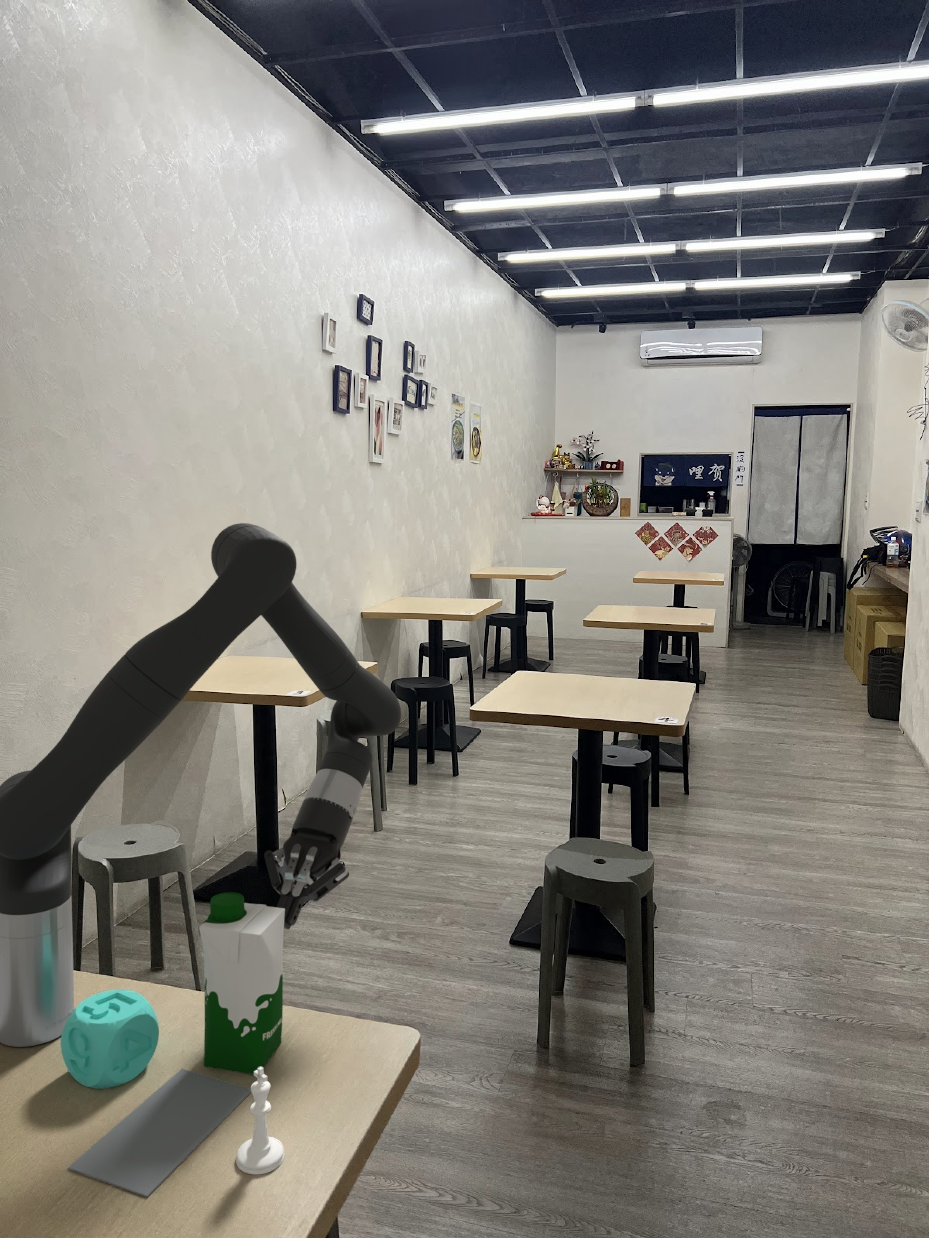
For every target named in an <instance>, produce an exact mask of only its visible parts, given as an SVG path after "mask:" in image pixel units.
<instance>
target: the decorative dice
mask: <svg viewBox="0 0 929 1238" xmlns="http://www.w3.org/2000/svg"><path fill="white" fill-rule="evenodd" d="M159 1036H160V1027H159V1022H158V1017H157V1014H156V1012H155V1010H154V1008H153V1006H152V1005H151V1003H150V1002H149V1001H148V999H146V998H145V997H144V996H143V995H141V994H140V993H139V992H137V991H133V990H131V989H130V990H129V989H112V990H111V989H110V990H105V991H101V992H98V993H96V994H92V995H91V996H88V997H86V998H85V999H83V1000H82V1001H81V1002H80V1003H79V1004H77V1006H76V1007H74V1010H73V1012H72V1013H71V1015H70V1016H69V1018H68V1020H67V1021H66V1024H65V1026H64V1029H63V1032H62V1035H61V1036H60V1050H61V1054H62V1058H63V1061H64V1064H65V1067H66V1068H67V1070H68V1072H69V1074H70V1075H71V1076H72V1077H73V1078H74V1080H75V1081H76V1082H78V1083H79V1084H81V1085H83V1086H84V1087H86V1088H92V1089H109V1088H114V1087H118V1086H122V1085H124V1084H126V1083H128V1082H130V1081H133V1080H134V1079H135V1078H137V1076H139V1075H140V1074H141V1073H142V1072H143V1071H144V1070H145V1069H146V1068H147V1066H148V1065H149V1063H150V1062H151V1060H152V1058H153V1056H154V1055H155V1052H156V1050H157V1047H158V1042H159V1038H160V1037H159Z"/></svg>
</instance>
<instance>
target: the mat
mask: <svg viewBox="0 0 929 1238" xmlns="http://www.w3.org/2000/svg"><path fill="white" fill-rule="evenodd" d="M250 1094H252V1092H251V1087H247V1086H244V1085H239V1084H236V1083H233V1082H229V1081H227V1080H223V1079H219V1078H216V1077H212V1076H209V1075H205V1074H202V1073H200V1072H199V1073H198V1072H195V1071H192V1070H189V1069H185V1068H181V1069H180V1070H179V1071H178V1072H176V1073H175V1074H173V1076H172V1077H171V1078H170V1079H168V1080H167V1081H166V1082H165V1083H164V1084H163V1085H161V1086H160V1087H158V1089H157V1090H156V1091H155V1092H153V1093H152V1094H151V1095H150V1096H149V1097H148V1098H146V1099H145V1100H144V1101H143V1102H142V1103H140V1104H139V1105H138V1106H137V1107H136V1108H134V1110H132V1111H131V1112H130V1113H129V1114H128V1115H126V1117H124V1118H122V1120H121V1121H120V1122H119V1123H117V1124H116V1125H115V1126H114V1127H113V1128H112V1129H111V1130H110V1131H108V1132H107V1133H106V1134H105V1135H104V1136H102V1137H101V1138H100V1139H99V1140H97V1142H96V1143H94V1144H93V1145H91V1146H90V1148H89V1149H87V1150H86V1151H85V1152H84V1153H83V1154H82V1155H80V1156H79V1157H78V1158H77V1159H76V1160H74V1161H73V1162H72V1163H71V1164H70V1165H69V1166H68V1167H67V1170H69V1171H70V1172H71V1171H72V1172H74V1173H77V1174H80V1175H83V1176H85V1177H89V1178H91V1179H94V1180H95V1181H96V1180H97V1181H99V1182H103V1183H105V1184H107V1185H108V1184H109V1185H111V1186H114V1187H116V1188H120V1189H123V1190H125V1191H128V1192H130V1193H132V1194H136V1195H139V1196H141V1197H144V1198H149V1197H150V1196H151V1195H152V1194H153V1193H154V1192H155V1191H156V1190H157V1189H158V1188H159V1186H161V1185H162V1183H164V1182H165V1180H167V1178H169V1176H170V1175H171V1174H172V1173H174V1171H176V1169H178V1168H179V1167H180V1165H182V1163H183V1162H184V1161H185V1160H186V1159H187V1158H188V1157H189V1156H190V1155H191V1154H192V1153H193V1152H194V1151H195V1150H196V1149H197V1148H198V1147H199V1146H200V1145H201V1144H202V1143H203V1142H204V1141H205V1140H206V1139H207V1138H208V1137H209V1136H210V1135H211V1134H212V1133H213V1132H214V1131H215V1130H216V1129H217V1128H218V1127H219V1126H220V1125H221V1123H223V1121H224V1120H225V1119H226V1118H228V1117H229V1116H230V1115H231V1113H232V1112H234V1110H236V1108H237V1107H239V1105H240V1104H242V1102H243V1101H245V1099H246V1098H247V1097H248V1096H249V1095H250Z"/></svg>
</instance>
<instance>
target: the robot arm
mask: <svg viewBox="0 0 929 1238" xmlns="http://www.w3.org/2000/svg"><path fill="white" fill-rule="evenodd" d="M210 556H211V557H210V558H211V565H212V568H213V570H214V572H215V574H216V576H217V578H216V580H215V581H214V582H213V583H212V585H210V586H209V588H208V589H207V590H206V591H205V592H204V593H203V595H202V596H201V597H200V598H199V599H198V600H197V601H196V602H195V603H194V604H193V605H192V606H190V608H188V609H187V610H186V611H185V612H183V613H182V614H180V615H179V616H177V617H175V618H173V619H172V620H170V621H168V622H167V623H165V624H163V625H161V626H159V627H158V628H156V629H155V630H153V631H151V632H149V633H148V634H146V635H145V636H143V637H141V638H140V639H139V640H138V641H137V642H135V643H134V644H132V646H131V647H130V648H129V649H128V650H127V651H126V652H125V654H123V655H122V656H121V658H120V659H119V660H118V661H117V662H116V663H115V664H114V665H113V666H112V667H111V669H109V671H108V672H107V673H106V674H105V675H104V677H103V678H102V679H101V680H100V681H99V683H98V684H97V685H96V686H95V688H94V689H93V690H92V692H91V693H90V695H89V696H88V698H86V700H85V701H84V702H83V703H84V704H82V706H81V707H80V709H79V711H78V713H76V715H75V717H74V719H73V720H72V722H71V723H70V725H69V726H68V728H67V729H66V731H65V733H64V734H63V736H62V737H61V738H60V739H59V740H58V742H57V744H55V746H54V747H53V748H52V749H51V750H50V752H48V754H47V755H46V756H44V757H43V758H42V760H40V761H39V762H38V763H37V764H36V765H35V766H34V767H33V768H32V769H31V770H25V771H21V772H18V773H17V772H16V773H15V774H13V775H11V776H10V777H8V778H7V779H5V780H4V782H2V783H1V784H0V1043H1V1044H2V1045H5V1046H9V1047H14V1048H15V1047H16V1048H21V1047H22V1048H23V1047H24V1048H26V1047H33V1046H38V1045H42V1044H44V1043H49V1042H51V1041H53V1040H55V1039H57V1038H59V1037H61V1036H62V1032H63V1029H64V1026H65V1024H66V1021H67V1020H68V1018H69V1016H70V1015H71V1013H72V1012H73V1010H74V1009H75V999H74V998H75V989H74V988H75V987H74V985H75V984H74V983H75V982H74V947H73V946H74V941H73V940H74V939H73V938H74V937H73V910H72V909H73V906H72V905H73V904H72V901H73V900H72V869H73V868H72V865H73V863H72V862H73V860H72V858H73V857H72V856H73V855H72V854H73V853H72V825H73V823H74V821H75V820H76V819H77V818H78V816H79V814H80V813H81V811H82V810H83V809H84V808H85V806H86V805H87V803H88V802H89V801H90V800H91V799H92V797H93V796H94V795H95V793H96V791H97V790H98V789H99V788H100V787H101V785H102V784H103V783H104V781H105V780H106V779H107V778H108V777H109V776H110V775H112V774H113V772H114V771H115V770H116V769H117V768H119V766H120V765H121V764H123V762H125V760H126V759H128V757H129V756H130V755H132V753H133V752H135V750H137V748H139V746H141V744H143V742H144V741H145V740H146V739H147V738H148V737H149V736H150V735H151V734H152V733H153V732H154V731H155V730H156V729H157V728H158V727H159V726H160V725H161V724H162V722H163V721H165V720H166V718H167V717H168V716H169V715H170V714H171V713H172V711H174V709H175V708H176V707H177V706H178V704H180V703H181V702H182V700H183V699H184V698H185V697H186V696H187V694H188V693H189V692H190V690H191V689H192V688H193V687H194V686H195V684H197V683H198V681H199V680H200V679H201V678H202V677H203V676H204V674H205V673H206V672H207V671H208V670H209V669H210V668H211V667H212V665H214V663H215V662H216V661H217V660H218V659H219V658H220V656H222V654H223V653H224V652H225V651H226V650H227V648H228V647H229V646H230V645H232V643H233V642H234V641H235V640H236V639H237V638H238V637H239V636H240V635H241V634H242V633H243V632H244V631H245V630H246V629H247V628H248V627H250V626H251V625H252V624H253V623H254V622H255V621H256V620H257V619H258V618H259V617H260V616H261V617H262V618H263V619H264V620H265V622H266V623H267V624H268V625H269V627H271V628H272V630H273V632H275V634H276V635H277V636H278V637H279V639H280V640H281V641H282V644H284V646H285V647H286V648H287V649H288V651H289V653H291V655H292V656H293V657H294V659H295V661H296V662H297V663H298V665H299V666H300V667H301V669H302V670H303V671H304V673H305V674H306V675H307V676H308V677H309V678H310V680H311V681H312V683H313V684H314V685H315V687H316V688H317V689H318V690H319V692H320V693H321V694H323V696H324V697H326V698H327V699H330V700H332V701H336V702H334V704H333V706H332V709H331V713H330V718H329V719H330V720H329V721H330V722H329V728H328V736H327V746H326V747H327V748H326V751H325V753H324V756H323V759H322V760H321V763H320V765H319V767H318V770H317V772H316V774H315V775H314V777H313V779H312V781H311V782H310V785H309V787H308V789H307V791H306V793H305V796H304V799H303V801H302V803H301V805H300V808H299V810H298V813H297V814H296V818H295V820H294V822H293V825H292V828H291V833H290V835H289V837H288V838H287V839H286V840H285V841H284V842H283V845H282V847H281V848H279V849H276V850H274V851H272V850H270V849H268V850H266V851H265V852H264V854H263V857H264V861H265V864H266V869H267V873H268V875H269V880H270V883H271V887H273V889H274V890H275V891H276V892H277V893H278V894H279V895H280V896H279V899H278V902H277V904H276V907H277V908H285V915H284V930H285V929H286V930H290V929H291V928H292V926H294V925H295V924H296V923H297V921H298V918H299V915H300V913H301V911H302V908H303V905H304V904H306V903H307V902H309V901H313V902H314V903H315V902H318V901H320V900H321V899H323V898H324V897H325V896H326V895H327V894H329V893H330V892H331V891H333V890H334V889H335V888H337V886H339V885H340V884H341V883H342V882H344V881H345V880H346V879H348V878H349V876H350V872H349V870H348V869H347V867H346V866H345V865H344V863H342V861H340V860H341V856H342V855H341V848H342V847H343V846H344V843H345V841H346V838H347V835H348V833H349V830H350V829H351V825H352V822H353V821H354V820H353V819H354V817H355V816H356V813H357V809H358V806H359V803H360V799H361V794H362V791H363V789H364V786H365V784H366V780H367V778H368V776H369V773H370V771H371V767H372V764H373V754H372V751H371V749H370V748H368V746H366V745H365V744H363V743H361V742H360V741H359V739H360V738H361V737H381V736H383V737H384V736H388V735H390V734H392V733H393V732H394V731H396V730H397V728H398V727H399V725H400V723H401V720H402V710H401V709H402V707H401V705H400V701H399V699H398V697H397V696H396V694H395V692H393V691H392V689H391V688H390V687H389V686H388V685H386V684H385V683H384V682H383V681H382V680H380V678H378V677H377V676H376V675H375V674H373V673H372V672H370V670H368V669H367V668H365V667H363V666H362V665H361V664H360V663H359V661H358V660H357V658H356V657H355V655H354V654H353V653H352V652H351V650H350V649H349V647H348V645H346V643H345V642H344V641H343V639H342V638H341V637H340V636H339V634H337V632H336V631H335V630H334V629H333V628H332V627H331V625H329V623H328V622H327V621H326V620H325V619H324V618H323V617H322V616H321V615H320V614H319V613H318V612H317V611H316V609H314V608H313V606H311V604H310V603H309V602H308V601H307V600H306V599H305V597H304V596H303V594H301V593H300V591H299V590H298V589H297V587H296V586H295V585H294V583H293V580H294V578H295V575H296V571H297V557H296V553H295V551H294V549H293V547H292V546H291V545H290V544H289V543H288V542H287V541H286V540H284V539H283V538H281V537H279V536H278V535H276V534H274V533H272V532H271V531H269V530H268V529H265V528H264V527H261V526H259V525H257V524H253V523H247V522H246V523H245V522H244V523H243V522H242V523H241V522H240V523H239V522H238V523H234V524H232V525H228V526H227V527H226V528H224V529H223V530H221V531H220V532H219V533H218V535H217V536H216V537H215V539H214V542H213V544H212V546H211V552H210ZM284 862H285V864H286V869H285V872H284V873H283V870H282V867H283V866H284Z"/></svg>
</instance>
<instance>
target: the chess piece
mask: <svg viewBox="0 0 929 1238" xmlns="http://www.w3.org/2000/svg"><path fill="white" fill-rule="evenodd" d="M264 1069H265V1067H264V1068H263V1067H259V1068H258V1070H256V1071H254V1075H253V1076H254V1077H255V1078H257V1080H256V1081H254V1082H253V1083H252V1084H251V1085H250V1088H251V1094H252V1097H253V1101H254V1102H253V1103H251V1105H250V1108H249V1111H250V1113H251V1114H252V1115H255V1118H254V1127H253V1135H252V1138H250V1139H248V1140H246V1141H245V1142H243V1143H242V1144H241V1145H240V1146H239V1147H238V1150H237V1153H236V1160H235V1161H236V1162H235V1163H236V1166H237V1168H238V1169H239V1170H240V1171H242V1172H243V1173H245V1174H247V1175H248V1174H249V1175H255V1176H256V1175H257V1176H258V1175H264V1174H267V1173H270V1172H272V1171H274V1170H276V1169H277V1168H278V1167H280V1165H281V1164H282V1163H283V1162H284V1159H285V1148H284V1144H283V1143H282V1142H281V1141H280V1140H279V1139H277V1138H276V1137H273V1136H269V1132H268V1126H267V1124H268V1123H267V1116H266V1114H268V1113H269V1112H271V1109H272V1105H271V1103H270V1101H268V1100H267V1099H268V1096H269V1092H270V1090H271V1083H270V1082H269V1081H268V1075H266V1074H265V1071H264Z"/></svg>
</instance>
